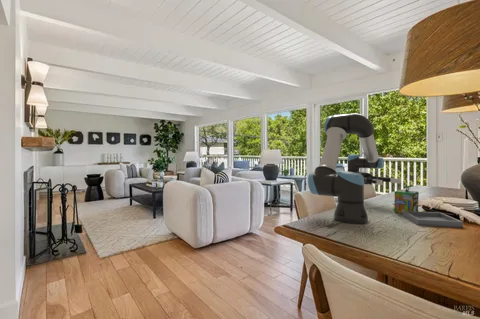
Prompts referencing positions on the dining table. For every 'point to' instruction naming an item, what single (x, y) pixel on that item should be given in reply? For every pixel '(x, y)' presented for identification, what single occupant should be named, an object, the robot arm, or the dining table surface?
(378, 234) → the dining table surface
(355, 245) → the dining table surface
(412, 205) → the chalk box
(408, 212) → the tray
